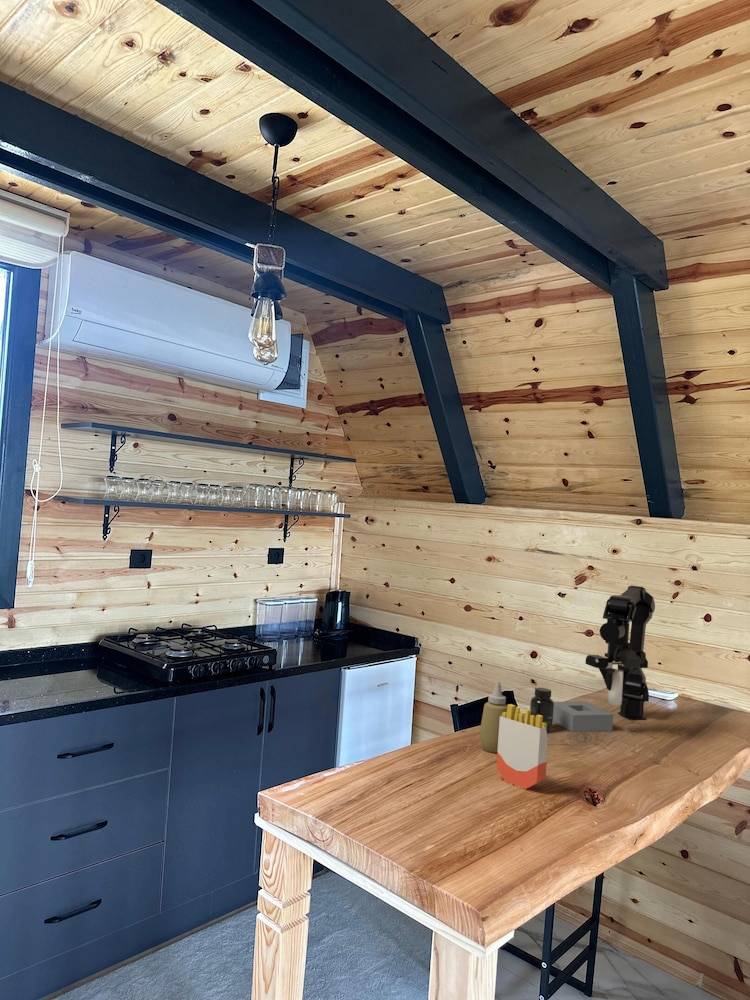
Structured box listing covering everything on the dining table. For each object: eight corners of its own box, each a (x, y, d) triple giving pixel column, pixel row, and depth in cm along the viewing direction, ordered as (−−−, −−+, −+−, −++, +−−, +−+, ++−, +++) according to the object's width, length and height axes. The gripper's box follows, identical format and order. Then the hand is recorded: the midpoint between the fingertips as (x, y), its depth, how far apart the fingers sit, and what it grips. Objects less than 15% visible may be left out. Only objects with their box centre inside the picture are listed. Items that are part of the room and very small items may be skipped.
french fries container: (505, 773, 166) (510, 699, 166) (545, 788, 158) (551, 711, 158) (495, 778, 162) (500, 702, 163) (535, 793, 155) (541, 714, 155)
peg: (615, 701, 208) (617, 668, 208) (624, 705, 204) (626, 671, 204) (604, 701, 207) (606, 668, 207) (613, 705, 203) (615, 671, 203)
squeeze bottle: (510, 747, 185) (515, 681, 185) (506, 757, 177) (511, 688, 178) (481, 742, 188) (485, 677, 188) (475, 751, 180) (480, 683, 180)
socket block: (585, 716, 221) (586, 701, 221) (612, 731, 207) (613, 714, 207) (547, 717, 217) (548, 701, 217) (572, 732, 203) (573, 715, 203)
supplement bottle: (552, 734, 199) (555, 693, 200) (528, 731, 201) (531, 690, 201) (551, 727, 206) (554, 688, 206) (528, 724, 207) (531, 685, 208)
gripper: (609, 643, 195) (606, 698, 195) (662, 644, 201) (659, 696, 201) (586, 636, 206) (582, 687, 206) (636, 636, 212) (633, 686, 212)
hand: (615, 689), depth 206 cm, fingers closed on peg, 4 cm apart
